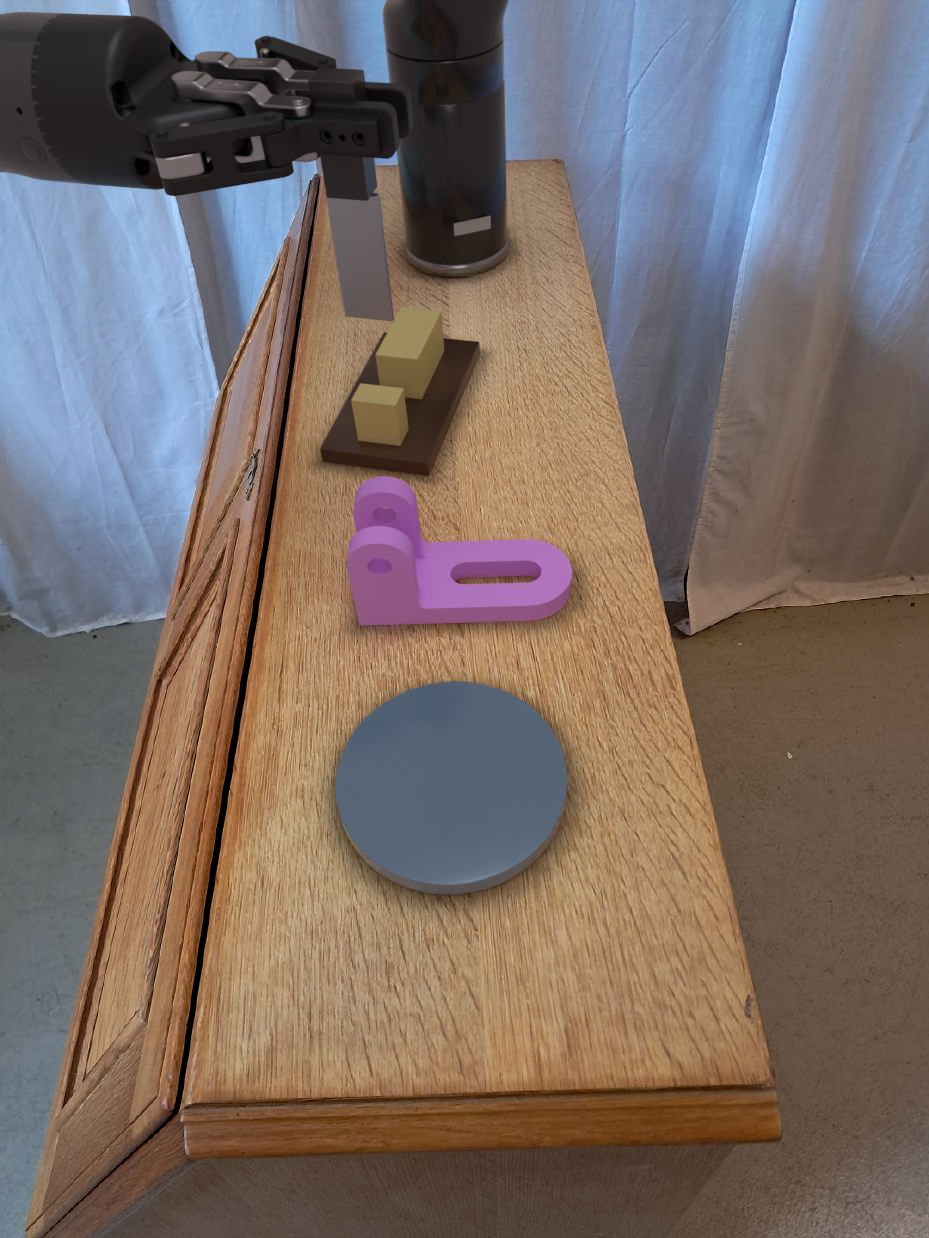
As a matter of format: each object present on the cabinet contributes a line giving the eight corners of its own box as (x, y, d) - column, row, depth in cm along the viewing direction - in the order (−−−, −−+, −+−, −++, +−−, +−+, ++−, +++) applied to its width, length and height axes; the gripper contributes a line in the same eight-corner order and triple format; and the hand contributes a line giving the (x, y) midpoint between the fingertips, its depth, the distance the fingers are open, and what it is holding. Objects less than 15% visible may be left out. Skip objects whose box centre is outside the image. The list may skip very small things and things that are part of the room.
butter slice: (366, 423, 67) (360, 383, 64) (408, 428, 66) (403, 388, 63) (358, 440, 65) (350, 400, 63) (400, 446, 65) (395, 405, 62)
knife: (350, 307, 52) (313, 66, 43) (397, 312, 52) (370, 69, 42) (341, 322, 51) (300, 79, 42) (389, 327, 51) (358, 83, 41)
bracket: (359, 625, 56) (341, 544, 50) (366, 559, 59) (350, 477, 54) (574, 619, 55) (579, 537, 50) (568, 553, 59) (572, 469, 53)
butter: (405, 346, 73) (401, 307, 70) (444, 351, 72) (441, 310, 69) (381, 395, 69) (375, 354, 66) (421, 399, 68) (417, 359, 65)
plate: (379, 677, 53) (376, 664, 52) (584, 714, 51) (585, 701, 50) (305, 865, 46) (300, 855, 45) (541, 920, 43) (542, 909, 42)
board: (385, 344, 75) (383, 331, 74) (480, 354, 74) (479, 341, 73) (322, 462, 66) (319, 449, 65) (428, 476, 64) (427, 463, 63)
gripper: (-40, 71, 39) (341, 91, 36) (117, -28, 48) (437, -20, 44) (32, 240, 45) (366, 272, 41) (161, 124, 53) (447, 142, 50)
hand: (401, 121), depth 43 cm, fingers closed on knife, 1 cm apart
